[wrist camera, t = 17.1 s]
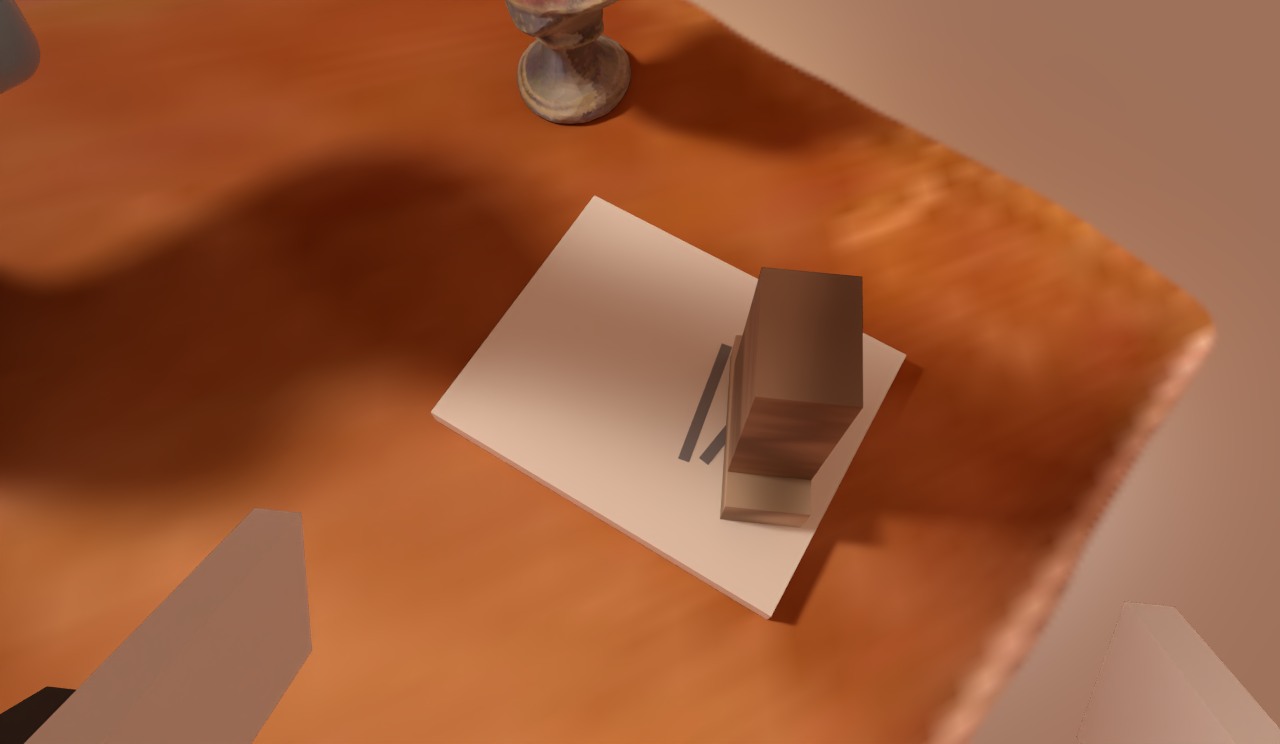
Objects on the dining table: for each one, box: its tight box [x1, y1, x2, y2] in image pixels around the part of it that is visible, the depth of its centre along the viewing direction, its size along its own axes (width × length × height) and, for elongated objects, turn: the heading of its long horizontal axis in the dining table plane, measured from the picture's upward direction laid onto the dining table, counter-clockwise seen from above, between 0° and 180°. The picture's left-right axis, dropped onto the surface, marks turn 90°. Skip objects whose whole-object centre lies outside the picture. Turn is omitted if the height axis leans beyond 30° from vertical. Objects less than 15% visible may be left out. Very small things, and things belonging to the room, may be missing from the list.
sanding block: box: [720, 267, 863, 527], centre depth 37 cm, size 4×9×12 cm, turn 174°
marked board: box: [431, 196, 906, 620], centre depth 44 cm, size 20×16×1 cm
